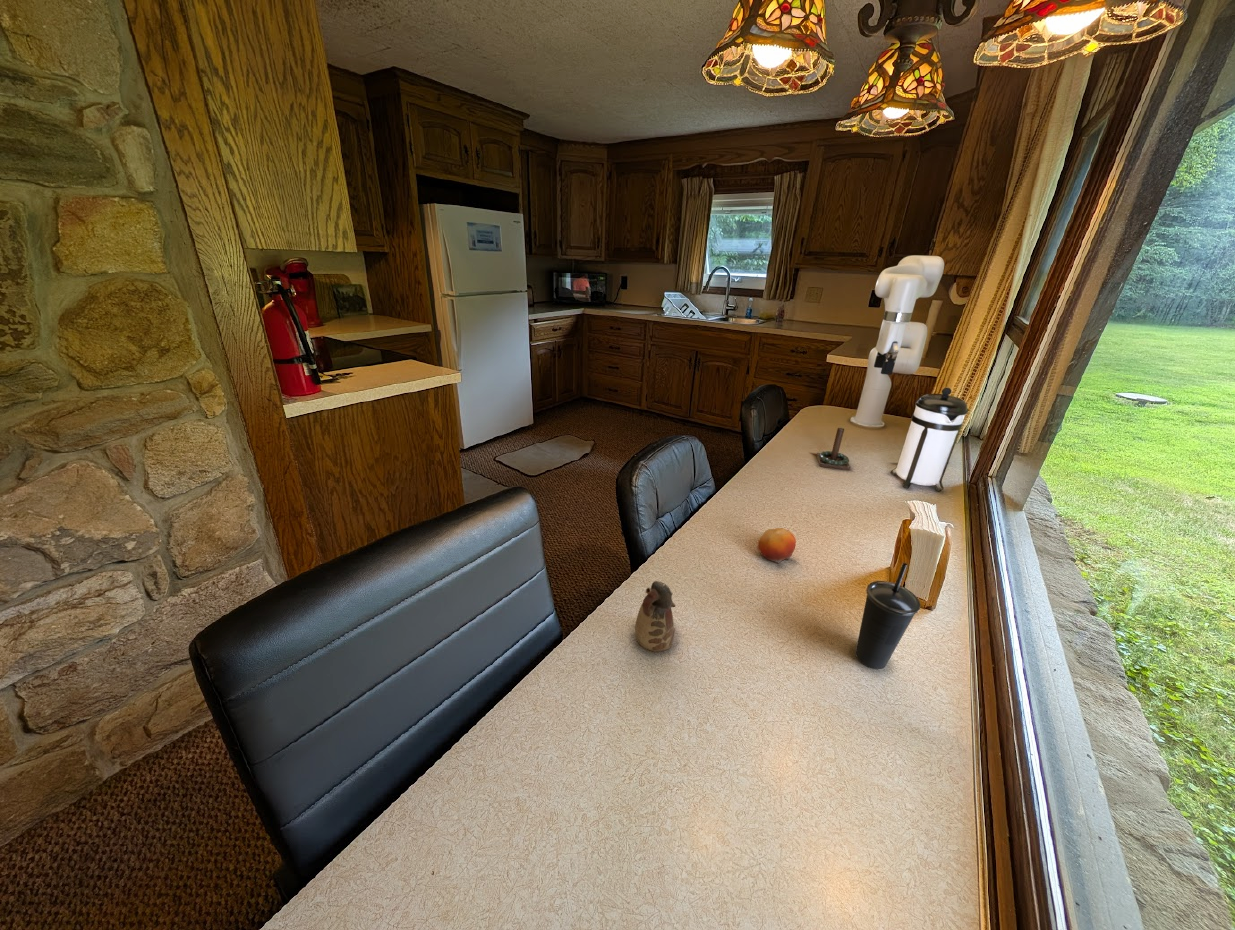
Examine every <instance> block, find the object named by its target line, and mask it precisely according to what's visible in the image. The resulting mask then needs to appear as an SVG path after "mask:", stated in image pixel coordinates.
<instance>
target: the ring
mask: <svg viewBox="0 0 1235 930" xmlns="http://www.w3.org/2000/svg"><path fill="white" fill-rule="evenodd" d="M819 453H820V454H819V459H820V460H821V461H823V462H824V463H827V464H831V465H837V466H841V465H846V464H847V463H850V459H849V457H848V456H847V455H846V454H844V453H841V452H838V456H837V457H838V458H841V459H842V461H837V460H831V459H828V458H826V457H824V456H831V453H832V450H824V451H822V452H819Z"/></svg>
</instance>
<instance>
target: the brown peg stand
mask: <svg viewBox="0 0 1235 930" xmlns="http://www.w3.org/2000/svg"><path fill="white" fill-rule="evenodd" d="M844 432H845V428H843V427H837V429H836V434H835V438H834V441H833V444H832V445H833V446H832V450H831V451H832V453H831V456H824V457H826V458H828V459H831V460H837V461H842V459H841V458H838V457H837V456H838V453H840V448H841V444H842V440H843V436H844ZM820 453H821V452H816V458H817V462H818V465H819V467H822V468H828V469H838V470H844V471H850V470H851V466H850V464H849V463H850V462H849V463H847V464H846V465H841V466H837V465H831V464H827V463H824V462H823V461H821V460H820V459H819V454H820Z"/></svg>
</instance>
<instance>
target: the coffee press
mask: <svg viewBox="0 0 1235 930" xmlns="http://www.w3.org/2000/svg"><path fill="white" fill-rule="evenodd" d="M951 394H952V389H951V388H950V387H944V388H943V389H942V390H941V393H927V394H923V395H922V396H920V397H919V399H916V401H915V409H914V412H913V413H912V415H911V418H910V419H911V420H910V422H909V426H908V429H907V432H906V435H905V438H904V442H903V445H902V449H901V451H900V454H899V457H898V461H897V464H896V467H895V468H894V469H892V470H890V471H889V472H890V474H891V475H892V476H895V475H897V476H898V477H899V478H900V479H902V480H903V481H904V482H903V485H902V488H904V489H907V490H908V489H909V488H910V487H911V485H912V484H914V485H919V486H924V487H925V486H926V487H927V486H928V487H930V486H932V487H934V489H935V490H936V491H937V492H939V493H940V492H942V491H943V490H944V488H945V487H944V484H943V478H944V475H945V473H946V471H947V467H948V465H949V462H950V459H951V456H952V454H953V452H954V448H955V446H956V443H957V441H958V439H959V438H958V437H959V435H960V432H961V429H962V428H963V425H964V419H965V416H966V415H968V413H969V411H970V410H969V408H968V403H966V401H965V400H964V399H962V398H960V397H958V396H954V395H951ZM894 470H895V472H894ZM938 484H939V487H940V489H939V487H938V486H937V485H938Z"/></svg>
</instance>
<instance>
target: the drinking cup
mask: <svg viewBox="0 0 1235 930" xmlns="http://www.w3.org/2000/svg"><path fill="white" fill-rule="evenodd" d="M907 568H908V563H906V562H902V564H901V566H900V570H899V571H898V575H897V577H896V580H895V583H894V582H891V581H886V580H875V581H872V582H870V583H869V584H868V585H867V586H866V589H865V592H866V597H865V603H864V609H863V614H862V618H861V623H860V628H859V632H858V638H857V643H856V647H855V656H856V658H857V660H858V661H859V662H860V663H861V664H863V665H864V666H866V667H868V668H870V669H873V670H881V669H884V668H885V667H886V666H887V664H888V662H889V661H890V659H891V657H892V656H893V654H894V652H895V650H896V648H897V647H898V645H899V644H900V641H901V639H902V638H903V636H904V635H905V632H906V631H907V629H908V628H909V625H910V623H911V622H912V620H913V618H914V616H915V615H916V614H918V612H920V609H921V602H920V600H919V598H918V596H916V594H914V593H913V592H912V591H911V590H909V589H908V588H906V587H904V586H902V585H901V584H902V581H903V579H904V575H905V573H906V570H907Z"/></svg>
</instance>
